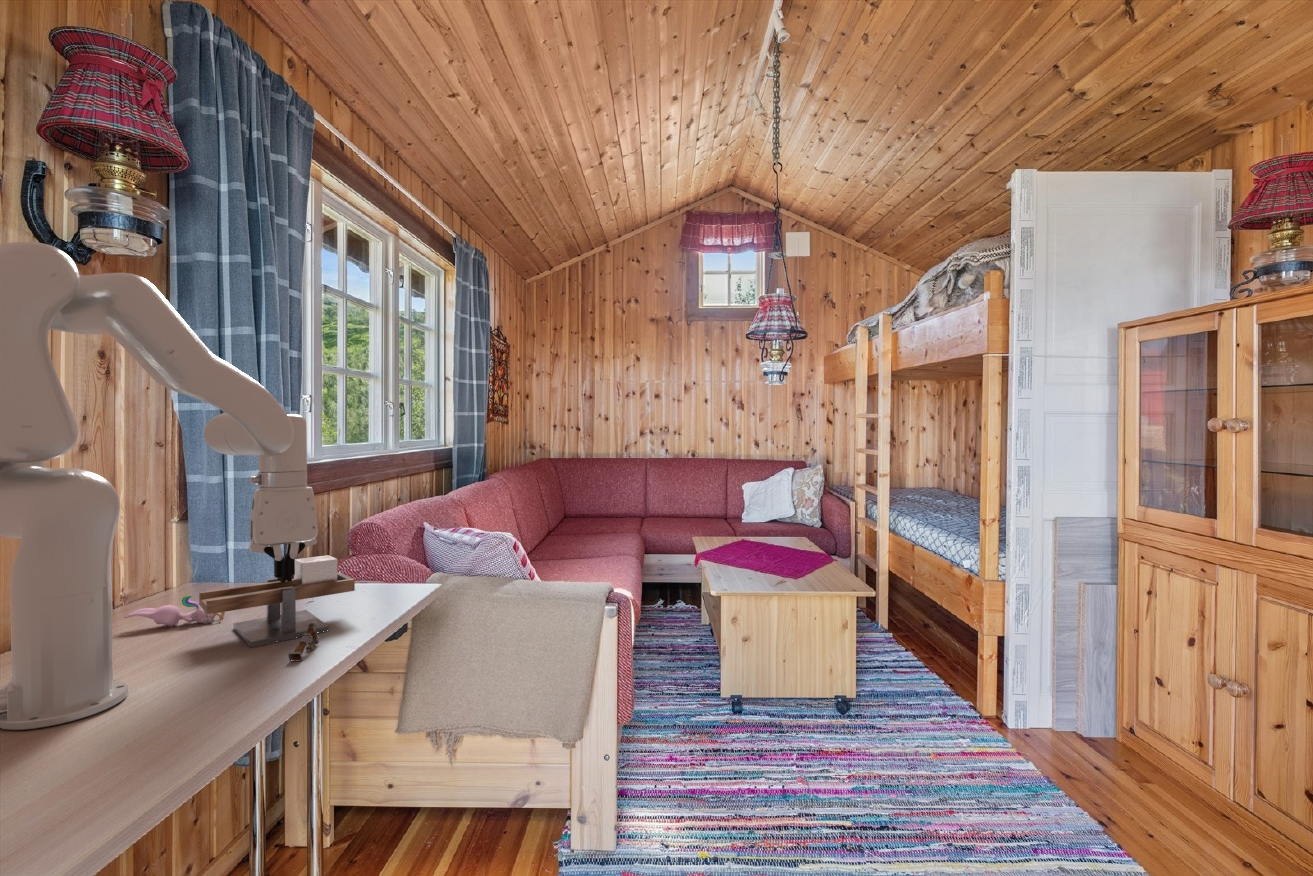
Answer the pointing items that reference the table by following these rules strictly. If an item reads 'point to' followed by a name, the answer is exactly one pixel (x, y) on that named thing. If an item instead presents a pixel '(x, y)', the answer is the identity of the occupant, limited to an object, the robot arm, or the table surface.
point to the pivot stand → (278, 622)
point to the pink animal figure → (176, 614)
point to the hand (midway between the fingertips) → (284, 580)
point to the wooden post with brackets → (305, 642)
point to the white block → (315, 570)
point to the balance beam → (268, 594)
